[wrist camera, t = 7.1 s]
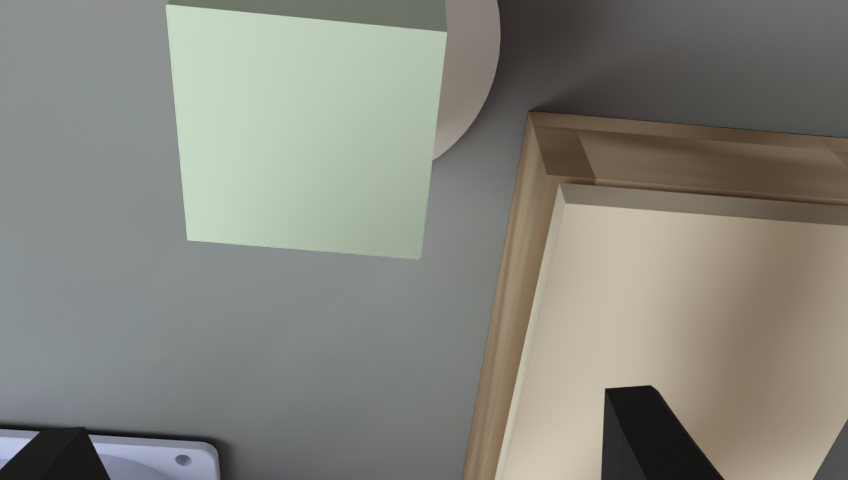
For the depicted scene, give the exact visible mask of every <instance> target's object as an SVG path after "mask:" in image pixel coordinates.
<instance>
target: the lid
mask: <svg viewBox="0 0 848 480" xmlns="http://www.w3.org/2000/svg"><path fill="white" fill-rule="evenodd" d="M644 385H652V386H653V387H654V388H655V389H657V390H658V391H659V392H660V394H661V395H662V397H663V398H664V400H665V401H666V403H667V404H668V406H669V407H670V408H671V410H672V411H673V413H674V414H675V415H676V417H677V418H678V420H679V421H680V422H681V424H682V425H683V426H684V428H685V429H686V431H687V432H688V433H689V435H690V436H691V437H692V439H693V440H694V441H695V443H696V444H697V445H698V446H699V448H700V449H701V450H702V452H703V453H704V454H705V455H706V457H707V458H708V459H709V461H710V462H711V463H712V464H713V466H714V467H715V468H716V470H717V471H718V472H719V473H720V475H721V476H722V477H723V478H724V479H725V480H813V478H814V476H815V474H816V473H817V471H818V469H819V467H820V466H821V464H822V462H823V461H824V459H825V457H826V455H827V454H828V452H829V450H830V448H831V447H832V445H833V443H834V441H835V440H836V438H837V436H838V435H839V433H840V431H841V429H842V428H843V426H844V424H845V422H846V421H847V419H848V207H846V206H834V205H822V204H809V203H797V202H785V201H773V200H761V199H749V198H737V197H724V196H712V195H700V194H688V193H676V192H664V191H652V190H639V189H627V188H615V187H603V186H591V185H579V184H567V183H559V186H558V191H557V195H556V200H555V205H554V209H553V214H552V218H551V223H550V228H549V232H548V237H547V241H546V246H545V250H544V255H543V260H542V264H541V269H540V273H539V278H538V283H537V287H536V292H535V296H534V301H533V306H532V310H531V315H530V319H529V324H528V328H527V333H526V338H525V342H524V347H523V351H522V356H521V361H520V365H519V370H518V374H517V379H516V384H515V388H514V393H513V397H512V402H511V406H510V411H509V416H508V420H507V425H506V429H505V434H504V439H503V443H502V448H501V452H500V457H499V462H498V466H497V471H496V475H495V480H601V466H602V443H603V419H604V396H605V388H617V387H631V386H644Z"/></svg>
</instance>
